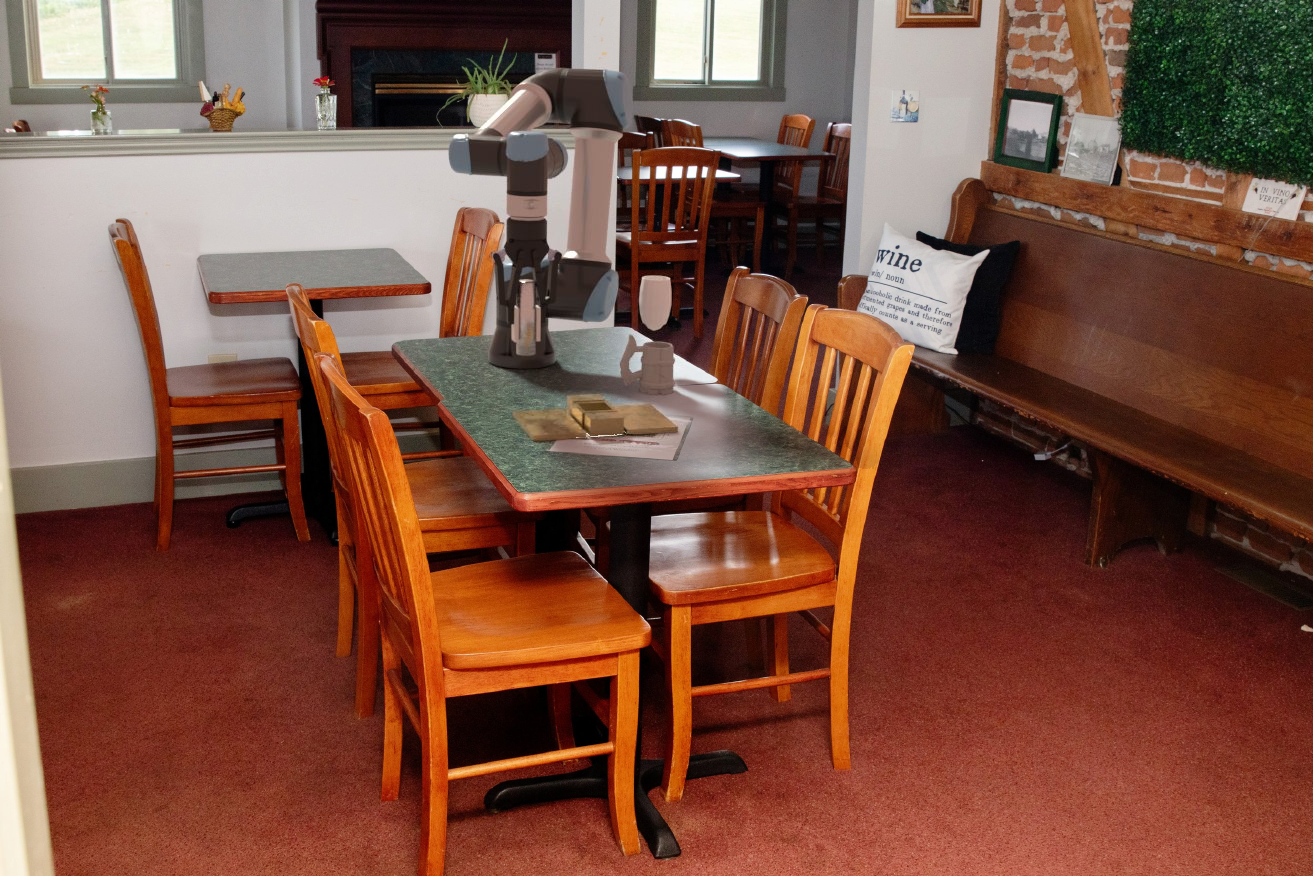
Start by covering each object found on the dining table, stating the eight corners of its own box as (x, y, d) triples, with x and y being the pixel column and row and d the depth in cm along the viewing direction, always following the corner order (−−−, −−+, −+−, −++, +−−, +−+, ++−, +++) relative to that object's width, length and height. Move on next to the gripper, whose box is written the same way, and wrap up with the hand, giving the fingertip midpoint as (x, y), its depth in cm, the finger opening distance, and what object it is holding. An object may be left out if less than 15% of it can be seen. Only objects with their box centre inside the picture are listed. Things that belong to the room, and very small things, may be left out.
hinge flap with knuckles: (566, 412, 241) (567, 395, 240) (650, 408, 246) (650, 391, 245) (590, 436, 226) (590, 418, 225) (677, 431, 232) (678, 413, 231)
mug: (678, 395, 258) (681, 338, 254) (622, 395, 255) (624, 339, 252) (670, 385, 265) (672, 330, 262) (615, 386, 262) (617, 330, 259)
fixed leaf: (512, 416, 237) (513, 398, 236) (599, 412, 243) (600, 394, 242) (532, 441, 223) (533, 422, 222) (624, 435, 228) (625, 417, 227)
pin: (514, 351, 239) (514, 279, 235) (532, 350, 240) (533, 279, 236) (518, 356, 236) (519, 283, 231) (537, 355, 237) (537, 282, 232)
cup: (670, 367, 281) (675, 276, 275) (665, 374, 274) (669, 281, 268) (639, 364, 282) (643, 274, 276) (633, 372, 275) (636, 279, 269)
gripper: (486, 220, 224) (487, 346, 231) (575, 219, 229) (573, 343, 236) (478, 214, 230) (479, 337, 238) (564, 213, 236) (562, 333, 243)
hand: (525, 339), depth 237 cm, fingers closed on pin, 4 cm apart
